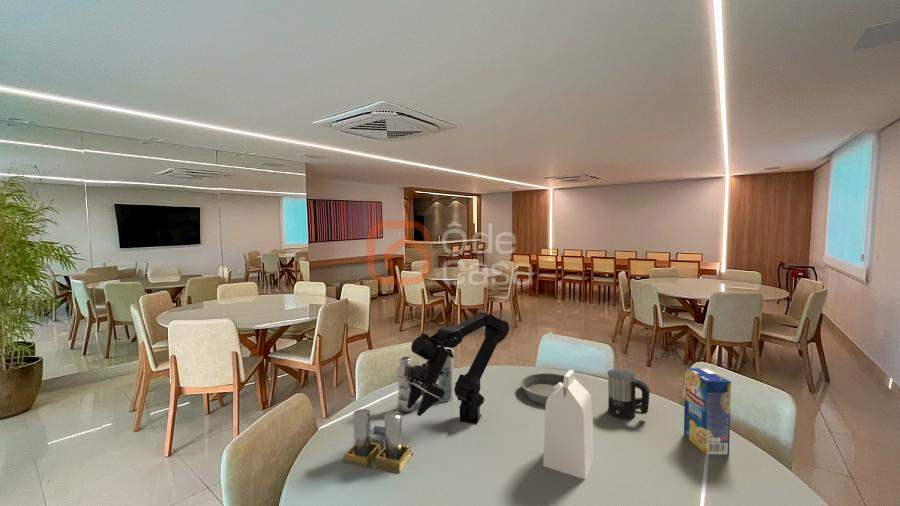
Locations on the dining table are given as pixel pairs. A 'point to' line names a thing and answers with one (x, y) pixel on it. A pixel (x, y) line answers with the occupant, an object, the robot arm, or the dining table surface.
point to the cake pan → (541, 385)
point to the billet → (393, 435)
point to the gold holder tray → (379, 459)
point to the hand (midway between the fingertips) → (413, 411)
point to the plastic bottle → (403, 386)
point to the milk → (569, 428)
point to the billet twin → (362, 432)
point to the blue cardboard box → (707, 410)
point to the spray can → (447, 379)
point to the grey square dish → (380, 430)
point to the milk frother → (625, 394)
